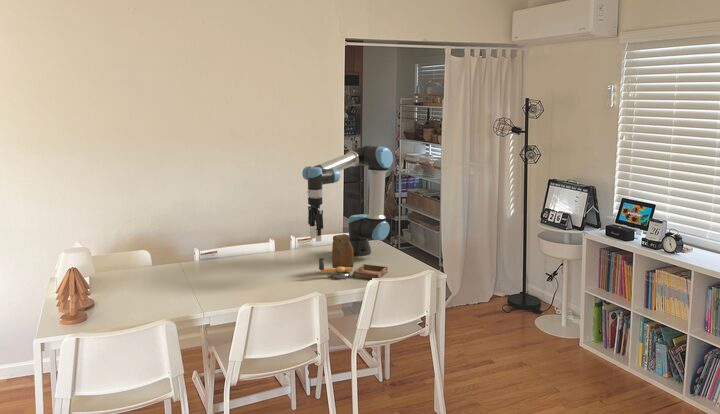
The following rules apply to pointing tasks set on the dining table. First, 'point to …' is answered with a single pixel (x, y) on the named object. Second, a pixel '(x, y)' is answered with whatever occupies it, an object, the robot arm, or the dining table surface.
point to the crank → (337, 269)
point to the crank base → (340, 275)
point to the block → (342, 251)
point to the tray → (370, 271)
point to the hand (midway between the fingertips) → (315, 239)
